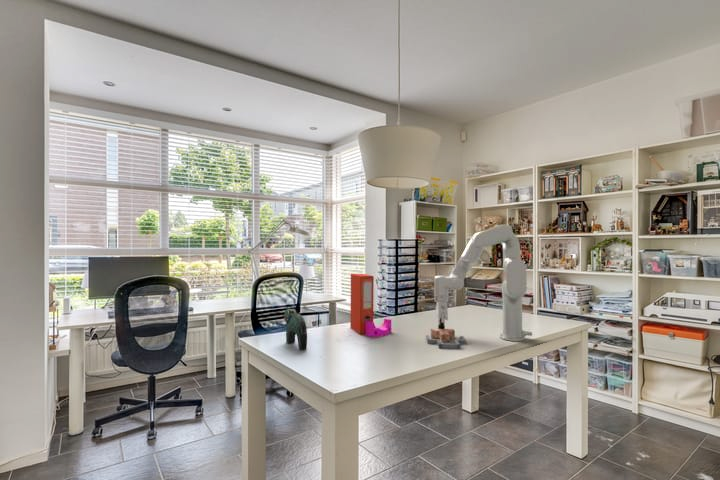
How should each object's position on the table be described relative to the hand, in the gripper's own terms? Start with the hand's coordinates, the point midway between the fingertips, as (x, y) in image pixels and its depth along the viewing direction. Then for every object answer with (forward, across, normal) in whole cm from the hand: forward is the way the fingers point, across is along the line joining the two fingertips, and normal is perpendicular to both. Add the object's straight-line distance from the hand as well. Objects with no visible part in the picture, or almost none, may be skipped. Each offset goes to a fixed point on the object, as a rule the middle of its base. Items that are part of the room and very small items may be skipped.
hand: (441, 332), depth 201 cm
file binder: (+2, +8, +44) cm, 45 cm away
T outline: (+2, -16, 0) cm, 16 cm away
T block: (+2, -8, 0) cm, 8 cm away
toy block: (+2, 0, +33) cm, 33 cm away
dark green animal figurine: (+2, -25, +74) cm, 78 cm away
